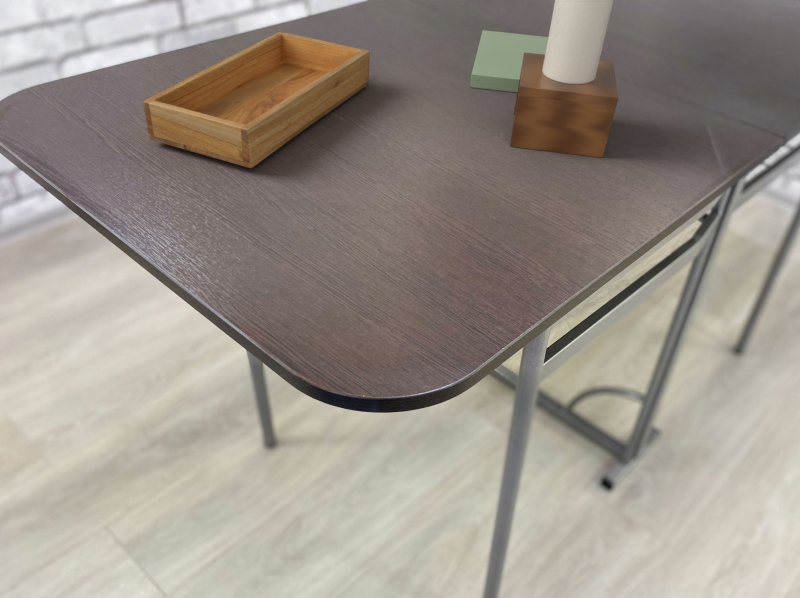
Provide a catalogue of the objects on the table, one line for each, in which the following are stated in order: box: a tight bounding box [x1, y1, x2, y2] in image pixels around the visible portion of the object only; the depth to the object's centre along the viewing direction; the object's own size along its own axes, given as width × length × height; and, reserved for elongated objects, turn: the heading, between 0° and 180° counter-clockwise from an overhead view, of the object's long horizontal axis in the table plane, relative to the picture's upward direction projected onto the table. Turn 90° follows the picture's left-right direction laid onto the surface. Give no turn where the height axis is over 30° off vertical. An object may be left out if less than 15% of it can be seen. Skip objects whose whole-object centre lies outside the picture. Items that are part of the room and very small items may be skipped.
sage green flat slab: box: [469, 29, 549, 94], centre depth 113 cm, size 16×20×2 cm
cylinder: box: [542, 0, 615, 84], centre depth 87 cm, size 7×7×16 cm
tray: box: [142, 31, 371, 169], centre depth 96 cm, size 31×15×6 cm, turn 154°
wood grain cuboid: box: [509, 52, 619, 158], centre depth 95 cm, size 12×12×8 cm
